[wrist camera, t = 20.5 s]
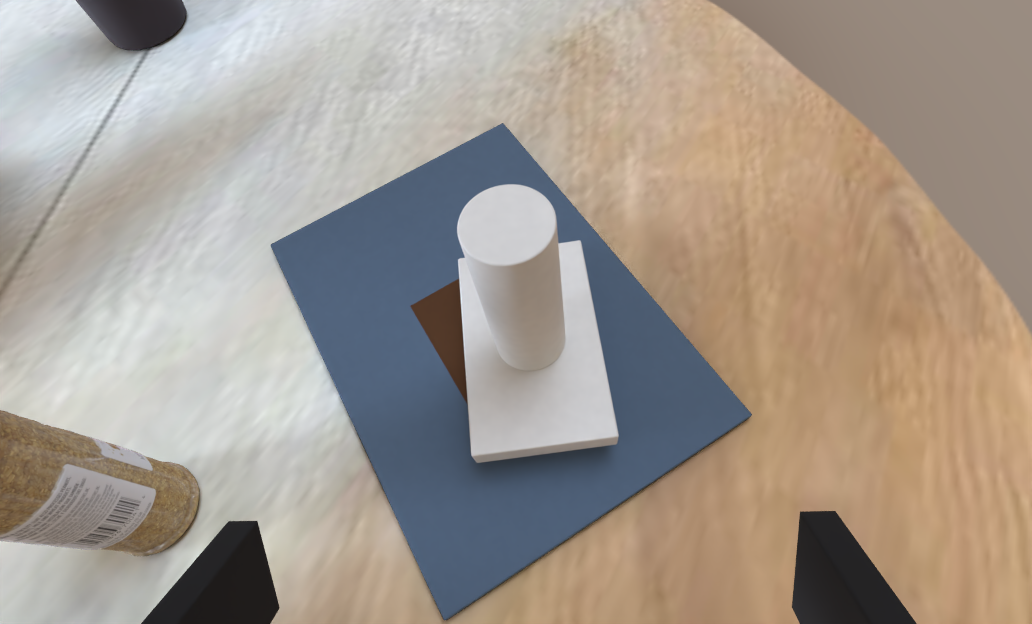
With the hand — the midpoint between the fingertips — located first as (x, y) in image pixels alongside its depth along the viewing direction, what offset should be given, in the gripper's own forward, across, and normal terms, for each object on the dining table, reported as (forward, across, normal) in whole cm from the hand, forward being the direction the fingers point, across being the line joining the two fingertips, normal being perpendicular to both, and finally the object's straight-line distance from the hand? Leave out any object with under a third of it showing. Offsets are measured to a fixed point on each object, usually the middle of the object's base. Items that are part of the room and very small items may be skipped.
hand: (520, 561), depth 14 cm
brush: (+16, 0, -1) cm, 16 cm away
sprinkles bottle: (+12, -20, -7) cm, 24 cm away
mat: (+18, -4, 0) cm, 19 cm away
